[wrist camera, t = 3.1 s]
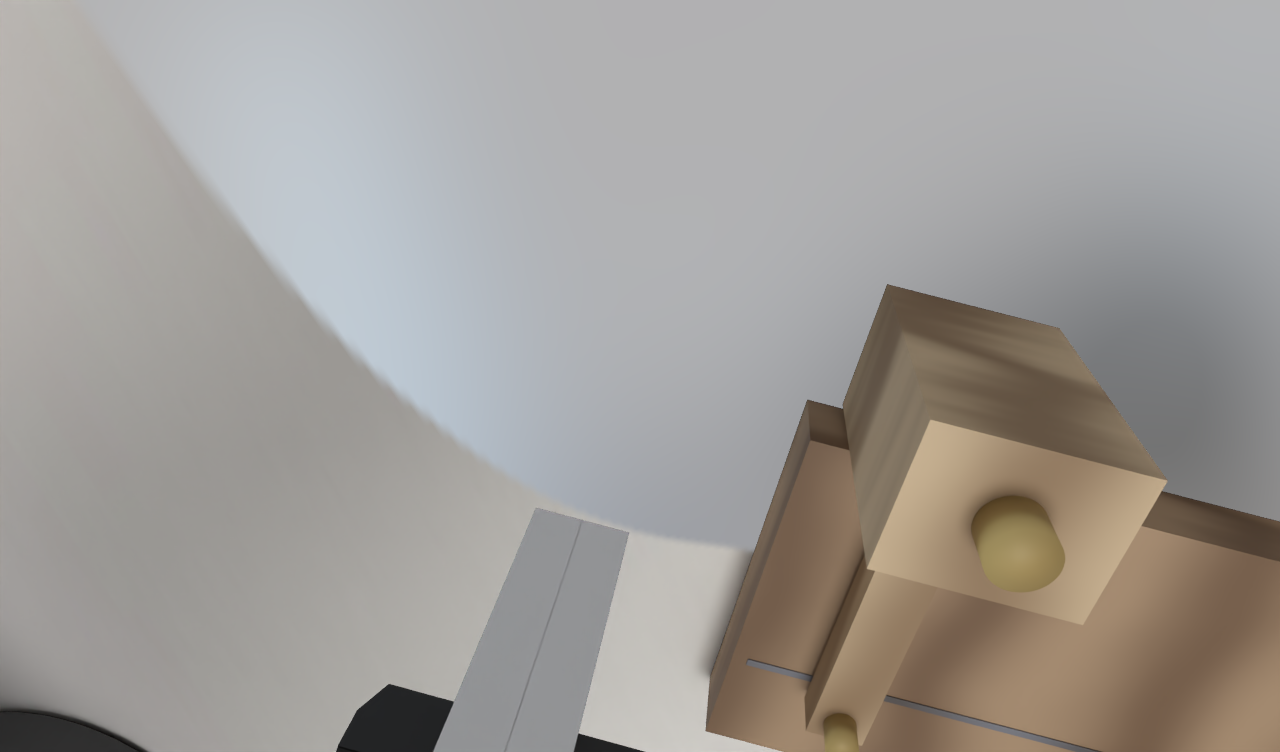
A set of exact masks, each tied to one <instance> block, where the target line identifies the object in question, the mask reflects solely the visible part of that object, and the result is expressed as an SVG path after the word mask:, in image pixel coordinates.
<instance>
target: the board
mask: <svg viewBox="0 0 1280 752" xmlns="http://www.w3.org/2000/svg"><path fill="white" fill-rule="evenodd" d="M864 555H865V553H864V546H863V540H862V533H861V526H860V519H859V512H858V505H857V499H856V492H855V485H854V478H853V471H852V464H851V458H850V451H849V444H848V437H847V430H846V424H845V417H844V410H843V409H841V408H837V407H834V406H830V405H826V404H822V403H818V402H814V401H810V400H807V402H806V405H805V408H804V411H803V414H802V416H801V419H800V422H799V425H798V428H797V431H796V434H795V436H794V440H793V442H792V445H791V448H790V451H789V454H788V456H787V459H786V462H785V466H784V468H783V471H782V474H781V477H780V479H779V482H778V485H777V488H776V491H775V494H774V496H773V499H772V502H771V505H770V508H769V511H768V514H767V516H766V519H765V522H764V525H763V528H762V531H761V534H760V537H759V539H758V542H757V545H756V548H755V551H754V553H753V556H752V559H751V562H750V565H749V568H748V571H747V573H746V576H745V579H744V582H743V585H742V588H741V591H740V593H739V596H738V599H737V602H736V605H735V608H734V611H733V613H732V616H731V619H730V622H729V625H728V628H727V631H726V633H725V636H724V639H723V642H722V645H721V648H720V651H719V653H718V656H717V659H716V662H715V665H714V668H713V670H712V673H711V676H710V683H709V695H708V707H707V719H706V731H707V732H711V733H715V734H719V735H722V736H726V737H730V738H734V739H738V740H741V741H745V742H749V743H753V744H756V745H760V746H764V747H768V748H772V749H775V750H779V751H783V752H825V742H824V736H822V735H819V734H815V733H811V732H807V731H806V724H805V700H804V697H805V695H806V693H807V690H808V688H809V685H810V683H811V681H812V678H813V676H814V674H815V671H816V669H817V666H818V664H819V662H820V659H821V657H822V655H823V652H824V650H825V647H826V645H827V643H828V640H829V638H830V636H831V633H832V631H833V628H834V626H835V624H836V621H837V619H838V617H839V614H840V612H841V610H842V607H843V605H844V602H845V600H846V598H847V595H848V593H849V591H850V588H851V586H852V583H853V581H854V579H855V576H856V574H857V572H858V569H859V567H860V564H861V562H862V560H863V557H864ZM859 752H1280V522H1279V521H1275V520H1271V519H1267V518H1264V517H1260V516H1256V515H1252V514H1248V513H1244V512H1240V511H1236V510H1233V509H1229V508H1225V507H1221V506H1217V505H1213V504H1209V503H1205V502H1201V501H1197V500H1193V499H1190V498H1186V497H1182V496H1178V495H1174V494H1171V493H1167V492H1163V491H1161V493H1160V495H1159V497H1158V498H1157V500H1156V502H1155V503H1154V505H1153V507H1152V508H1151V510H1150V512H1149V514H1148V515H1147V517H1146V519H1145V520H1144V522H1143V524H1142V525H1141V527H1140V529H1139V531H1138V532H1137V534H1136V536H1135V537H1134V539H1133V541H1132V542H1131V544H1130V546H1129V548H1128V549H1127V551H1126V553H1125V554H1124V556H1123V558H1122V559H1121V561H1120V563H1119V565H1118V566H1117V568H1116V570H1115V571H1114V573H1113V575H1112V576H1111V578H1110V580H1109V582H1108V583H1107V585H1106V587H1105V588H1104V590H1103V592H1102V593H1101V595H1100V597H1099V599H1098V600H1097V602H1096V604H1095V605H1094V607H1093V609H1092V610H1091V612H1090V614H1089V616H1088V617H1087V619H1086V621H1085V622H1084V624H1083V625H1080V624H1077V623H1073V622H1069V621H1065V620H1061V619H1057V618H1054V617H1050V616H1046V615H1042V614H1038V613H1034V612H1031V611H1027V610H1023V609H1019V608H1015V607H1011V606H1008V605H1004V604H1000V603H996V602H992V601H988V600H985V599H981V598H977V597H973V596H969V595H965V594H962V593H958V592H954V591H950V590H946V589H942V588H939V587H938V588H937V590H936V592H935V594H934V596H933V598H932V600H931V603H930V605H929V607H928V609H927V611H926V613H925V615H924V617H923V619H922V621H921V623H920V626H919V628H918V630H917V632H916V634H915V636H914V638H913V640H912V642H911V644H910V646H909V649H908V651H907V653H906V655H905V657H904V659H903V661H902V663H901V665H900V667H899V669H898V672H897V674H896V676H895V678H894V680H893V682H892V684H891V686H890V688H889V690H888V692H887V694H886V697H885V699H884V701H883V703H882V705H881V707H880V709H879V711H878V713H877V715H876V717H875V720H874V722H873V724H872V726H871V728H870V730H869V732H868V734H867V736H866V738H865V740H864V743H863V745H862V746H860V745H859Z"/></svg>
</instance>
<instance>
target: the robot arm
mask: <svg viewBox="0 0 1280 752" xmlns="http://www.w3.org/2000/svg"><path fill="white" fill-rule="evenodd" d="M628 535H629V532H625V531H621V530H617V529H614V528H610V527H606V526H602V525H599V524H595V523H591V522H587V521H584V520H580V519H576V518H573V517H569V516H565V515H561V514H558V513H554V512H550V511H546V510H543V509H539V508H536V509H535V511H534V514H533V516H532V519H531V521H530V523H529V526H528V528H527V530H526V533H525V535H524V538H523V540H522V542H521V545H520V547H519V549H518V552H517V554H516V557H515V559H514V561H513V564H512V566H511V568H510V571H509V573H508V576H507V578H506V580H505V583H504V585H503V587H502V590H501V592H500V594H499V597H498V599H497V602H496V604H495V606H494V609H493V611H492V613H491V616H490V618H489V621H488V623H487V625H486V628H485V630H484V632H483V635H482V637H481V640H480V642H479V644H478V647H477V649H476V651H475V654H474V656H473V658H472V661H471V663H470V666H469V668H468V670H467V673H466V675H465V677H464V680H463V682H462V685H461V687H460V689H459V692H458V694H457V696H456V699H455V701H454V702H453V701H449V700H446V699H442V698H438V697H435V696H431V695H427V694H424V693H420V692H416V691H413V690H409V689H405V688H402V687H398V686H395V685H391V684H388V685H387V686H386V687H385V688H383V689H382V690H381V691H380V692H379V693H377V694H376V695H375V696H374V697H373V698H371V699H370V700H369V701H368V702H367V703H365V704H364V705H363V706H362V707H361V708H359V709H358V710H357V711H356V713H355V715H354V717H353V719H352V721H351V723H350V724H349V726H348V728H347V730H346V732H345V734H344V736H343V737H342V739H341V741H340V743H339V745H338V748H337V751H336V752H644V751H640V750H637V749H633V748H629V747H626V746H622V745H618V744H615V743H611V742H607V741H604V740H600V739H596V738H593V737H589V736H585V735H582V734H578V732H579V728H580V725H581V721H582V717H583V713H584V709H585V705H586V701H587V697H588V693H589V689H590V685H591V681H592V677H593V673H594V669H595V665H596V661H597V657H598V653H599V650H600V646H601V642H602V638H603V634H604V630H605V626H606V622H607V618H608V614H609V610H610V606H611V602H612V598H613V594H614V590H615V586H616V582H617V578H618V575H619V571H620V567H621V563H622V559H623V555H624V551H625V547H626V543H627V539H628ZM0 752H138V751H136V750H135V749H133V748H131V747H129V746H127V745H126V744H124V743H122V742H120V741H118V740H116V739H114V738H112V737H109V736H107V735H105V734H103V733H100V732H98V731H95V730H93V729H90V728H88V727H85V726H82V725H79V724H76V723H73V722H69V721H66V720H62V719H58V718H54V717H49V716H44V715H38V714H31V713H21V712H0Z"/></svg>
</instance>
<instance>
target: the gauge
mask: <svg viewBox="0 0 1280 752" xmlns="http://www.w3.org/2000/svg"><path fill="white" fill-rule="evenodd" d="M843 410H844V417H845V424H846V430H847V437H848V444H849V451H850V458H851V464H852V471H853V478H854V485H855V492H856V499H857V505H858V512H859V519H860V526H861V533H862V540H863V546H864V553H865V555H864V557H863V560H862V562H861V564H860V567H859V569H858V572H857V574H856V576H855V579H854V581H853V583H852V586H851V588H850V591H849V593H848V595H847V598H846V600H845V602H844V605H843V607H842V610H841V612H840V614H839V617H838V619H837V621H836V624H835V626H834V628H833V631H832V633H831V636H830V638H829V640H828V643H827V645H826V647H825V650H824V652H823V655H822V657H821V659H820V662H819V664H818V666H817V669H816V671H815V674H814V676H813V678H812V681H811V683H810V685H809V688H808V690H807V693H806V695H805V697H804V700H805V724H806V731H807V732H811V733H815V734H819V735H822V736H824V742H825V752H859V745H860V746H862V745H863V743H864V740H865V738H866V736H867V734H868V732H869V730H870V728H871V726H872V724H873V722H874V720H875V717H876V715H877V713H878V711H879V709H880V707H881V705H882V703H883V701H884V699H885V697H886V694H887V692H888V690H889V688H890V686H891V684H892V682H893V680H894V678H895V676H896V674H897V672H898V669H899V667H900V665H901V663H902V661H903V659H904V657H905V655H906V653H907V651H908V649H909V646H910V644H911V642H912V640H913V638H914V636H915V634H916V632H917V630H918V628H919V626H920V623H921V621H922V619H923V617H924V615H925V613H926V611H927V609H928V607H929V605H930V603H931V600H932V598H933V596H934V594H935V592H936V590H937V588H938V587H939V588H942V589H946V590H950V591H954V592H958V593H962V594H965V595H969V596H973V597H977V598H981V599H985V600H988V601H992V602H996V603H1000V604H1004V605H1008V606H1011V607H1015V608H1019V609H1023V610H1027V611H1031V612H1034V613H1038V614H1042V615H1046V616H1050V617H1054V618H1057V619H1061V620H1065V621H1069V622H1073V623H1077V624H1080V625H1083V624H1084V622H1085V621H1086V619H1087V617H1088V616H1089V614H1090V612H1091V610H1092V609H1093V607H1094V605H1095V604H1096V602H1097V600H1098V599H1099V597H1100V595H1101V593H1102V592H1103V590H1104V588H1105V587H1106V585H1107V583H1108V582H1109V580H1110V578H1111V576H1112V575H1113V573H1114V571H1115V570H1116V568H1117V566H1118V565H1119V563H1120V561H1121V559H1122V558H1123V556H1124V554H1125V553H1126V551H1127V549H1128V548H1129V546H1130V544H1131V542H1132V541H1133V539H1134V537H1135V536H1136V534H1137V532H1138V531H1139V529H1140V527H1141V525H1142V524H1143V522H1144V520H1145V519H1146V517H1147V515H1148V514H1149V512H1150V510H1151V508H1152V507H1153V505H1154V503H1155V502H1156V500H1157V498H1158V497H1159V495H1160V493H1161V491H1162V490H1163V488H1164V486H1165V485H1166V483H1167V481H1168V480H1167V479H1166V478H1165V476H1164V475H1163V473H1162V472H1161V471H1160V469H1159V468H1158V466H1157V465H1156V464H1155V462H1154V461H1153V459H1152V458H1151V457H1150V455H1149V454H1148V452H1147V451H1146V450H1145V448H1144V447H1143V445H1142V444H1141V443H1140V441H1139V440H1138V438H1137V437H1136V436H1135V434H1134V433H1133V431H1132V430H1131V429H1130V427H1129V426H1128V424H1127V423H1126V421H1125V420H1124V419H1123V417H1122V416H1121V415H1120V413H1119V412H1118V410H1117V409H1116V408H1115V406H1114V405H1113V403H1112V402H1111V400H1110V399H1109V398H1108V396H1107V395H1106V393H1105V392H1104V391H1103V389H1102V388H1101V386H1100V385H1099V384H1098V382H1097V381H1096V379H1095V378H1094V377H1093V375H1092V374H1091V372H1090V371H1089V369H1088V368H1087V367H1086V365H1085V364H1084V362H1083V361H1082V360H1081V358H1080V357H1079V355H1078V354H1077V352H1076V351H1075V350H1074V349H1073V347H1072V345H1071V344H1070V343H1069V341H1068V340H1067V338H1066V337H1065V336H1064V334H1063V333H1062V332H1061V330H1060V329H1059V328H1056V327H1052V326H1048V325H1044V324H1041V323H1036V322H1033V321H1029V320H1025V319H1021V318H1017V317H1013V316H1009V315H1005V314H1002V313H998V312H994V311H990V310H986V309H982V308H978V307H974V306H970V305H966V304H962V303H958V302H955V301H950V300H947V299H943V298H939V297H935V296H931V295H927V294H923V293H919V292H915V291H912V290H908V289H904V288H900V287H896V286H891V285H888V284H887V286H886V289H885V292H884V294H883V297H882V300H881V302H880V305H879V308H878V310H877V313H876V316H875V319H874V321H873V324H872V327H871V329H870V332H869V335H868V337H867V340H866V343H865V345H864V349H863V351H862V353H861V356H860V359H859V362H858V364H857V367H856V370H855V372H854V375H853V378H852V380H851V383H850V386H849V388H848V391H847V394H846V396H845V399H844V402H843Z"/></svg>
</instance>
